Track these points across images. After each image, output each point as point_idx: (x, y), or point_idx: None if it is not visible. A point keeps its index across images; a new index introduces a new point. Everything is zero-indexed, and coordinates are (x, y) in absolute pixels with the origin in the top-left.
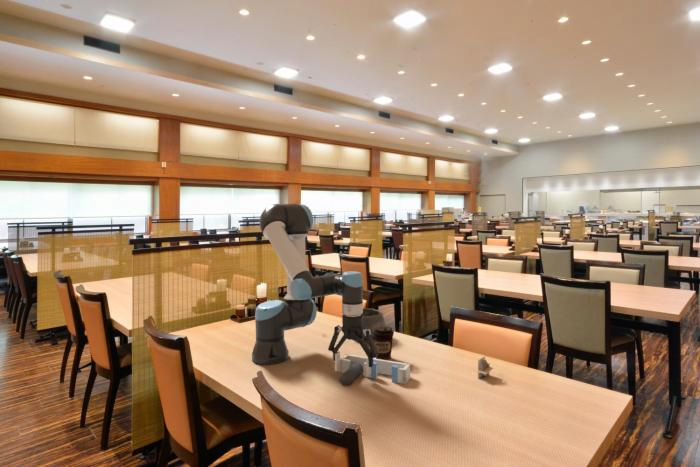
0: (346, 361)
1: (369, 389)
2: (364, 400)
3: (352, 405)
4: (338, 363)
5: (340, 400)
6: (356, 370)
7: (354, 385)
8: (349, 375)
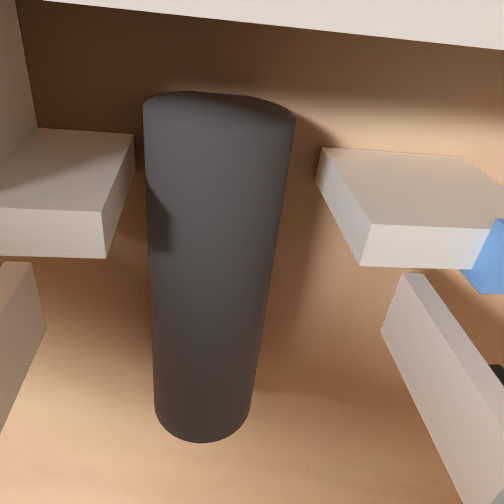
0: (61, 249)
1: None
2: (378, 453)
3: (325, 494)
4: (9, 357)
5: (252, 485)
6: (262, 291)
7: (276, 348)
8: (238, 412)
